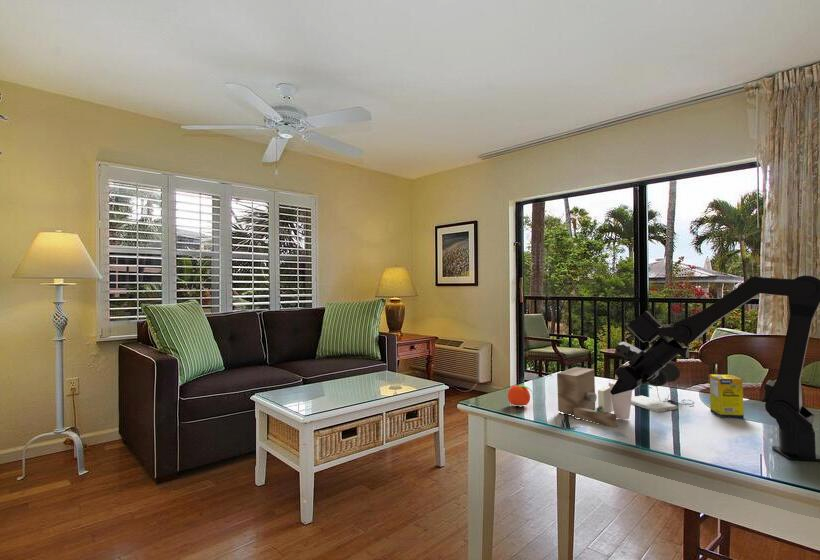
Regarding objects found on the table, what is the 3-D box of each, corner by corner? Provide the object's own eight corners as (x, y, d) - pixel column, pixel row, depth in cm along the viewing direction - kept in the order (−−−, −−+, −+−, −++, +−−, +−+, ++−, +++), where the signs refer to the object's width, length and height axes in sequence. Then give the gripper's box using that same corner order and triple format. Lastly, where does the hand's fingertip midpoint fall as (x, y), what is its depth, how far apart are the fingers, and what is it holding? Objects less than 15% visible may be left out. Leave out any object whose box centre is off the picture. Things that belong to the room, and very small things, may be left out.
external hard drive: (643, 400, 141) (677, 410, 130) (623, 403, 139) (657, 413, 127) (643, 395, 141) (677, 405, 130) (623, 398, 139) (657, 408, 127)
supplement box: (744, 418, 119) (743, 378, 119) (720, 417, 121) (719, 378, 121) (733, 411, 125) (731, 374, 125) (710, 411, 126) (708, 374, 126)
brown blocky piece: (631, 415, 124) (630, 373, 125) (613, 427, 115) (612, 382, 115) (576, 404, 136) (575, 367, 136) (555, 414, 127) (554, 374, 127)
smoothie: (611, 419, 119) (609, 369, 119) (607, 413, 125) (606, 364, 125) (637, 421, 117) (635, 369, 117) (632, 414, 123) (630, 365, 123)
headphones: (681, 411, 127) (679, 343, 127) (642, 403, 136) (640, 340, 136) (702, 402, 135) (700, 338, 135) (664, 395, 145) (662, 335, 145)
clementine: (536, 405, 137) (535, 383, 137) (530, 411, 131) (529, 388, 131) (511, 402, 141) (511, 381, 141) (505, 408, 135) (504, 385, 135)
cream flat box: (616, 408, 126) (615, 385, 126) (600, 418, 118) (599, 392, 118) (611, 408, 127) (610, 384, 127) (595, 417, 119) (594, 391, 119)
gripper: (645, 329, 125) (607, 363, 132) (620, 336, 112) (580, 373, 119) (677, 359, 119) (636, 393, 127) (655, 370, 106) (611, 407, 114)
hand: (616, 391), depth 122 cm, fingers closed on smoothie, 6 cm apart
